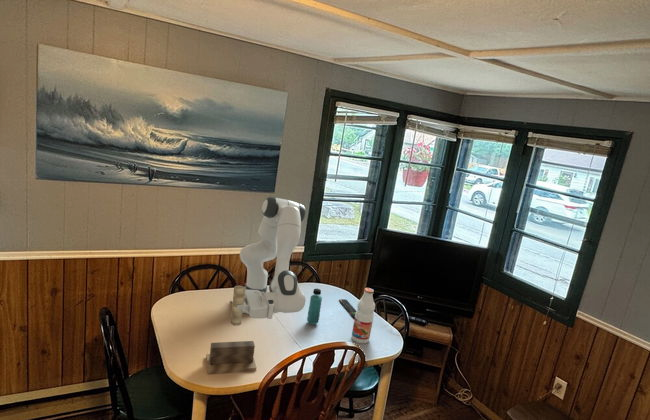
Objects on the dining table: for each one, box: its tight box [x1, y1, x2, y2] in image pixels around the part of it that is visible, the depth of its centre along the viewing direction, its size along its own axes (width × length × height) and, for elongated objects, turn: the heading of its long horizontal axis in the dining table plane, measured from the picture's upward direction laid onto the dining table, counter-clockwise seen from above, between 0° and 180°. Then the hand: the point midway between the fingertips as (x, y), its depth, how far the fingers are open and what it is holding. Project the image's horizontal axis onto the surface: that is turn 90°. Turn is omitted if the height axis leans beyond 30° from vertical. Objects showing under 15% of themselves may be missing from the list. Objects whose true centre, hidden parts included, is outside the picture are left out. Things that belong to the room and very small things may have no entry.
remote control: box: [338, 298, 357, 320], centre depth 249 cm, size 5×24×1 cm, turn 20°
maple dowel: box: [230, 285, 245, 326], centre depth 172 cm, size 4×4×16 cm
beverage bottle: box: [306, 288, 323, 325], centre depth 222 cm, size 6×7×20 cm
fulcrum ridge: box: [205, 340, 257, 375], centre depth 177 cm, size 20×12×10 cm, turn 109°
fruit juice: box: [351, 287, 376, 344], centre depth 213 cm, size 9×9×28 cm
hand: (235, 303), depth 172 cm, fingers closed on maple dowel, 4 cm apart
